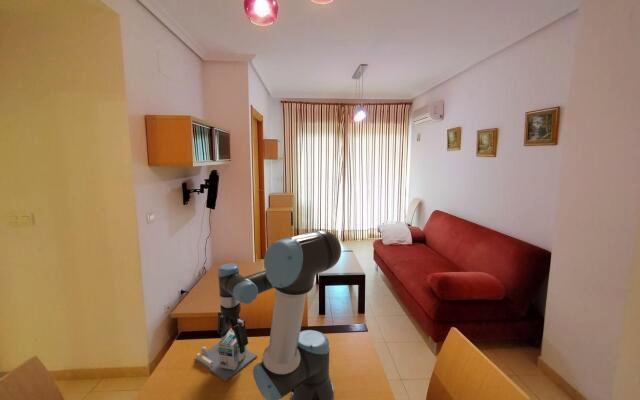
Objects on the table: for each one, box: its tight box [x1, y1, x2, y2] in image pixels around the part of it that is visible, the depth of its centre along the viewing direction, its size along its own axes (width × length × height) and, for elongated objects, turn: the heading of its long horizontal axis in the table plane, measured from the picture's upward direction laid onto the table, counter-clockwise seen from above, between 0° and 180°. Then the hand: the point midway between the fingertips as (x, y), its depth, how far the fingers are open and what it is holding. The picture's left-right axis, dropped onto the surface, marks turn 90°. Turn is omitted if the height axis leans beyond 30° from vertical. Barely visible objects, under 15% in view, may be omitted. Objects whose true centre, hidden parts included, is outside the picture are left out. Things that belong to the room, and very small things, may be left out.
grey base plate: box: [193, 336, 258, 382], centre depth 124 cm, size 20×16×5 cm
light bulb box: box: [217, 328, 247, 370], centre depth 120 cm, size 11×7×11 cm, turn 168°
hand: (233, 354), depth 120 cm, fingers closed on light bulb box, 8 cm apart
